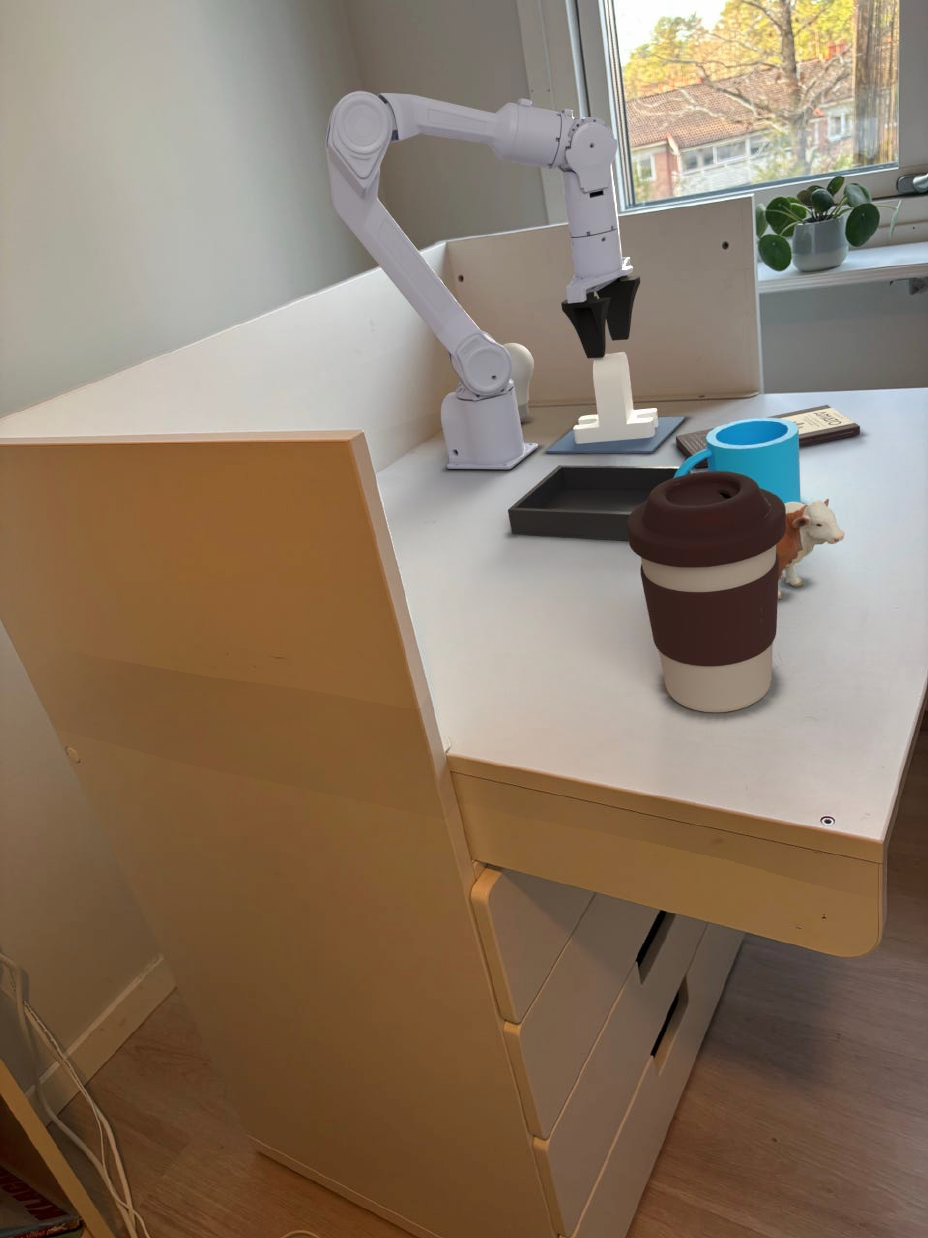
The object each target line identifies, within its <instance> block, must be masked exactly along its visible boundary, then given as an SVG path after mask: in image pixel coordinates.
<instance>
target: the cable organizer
mask: <svg viewBox="0 0 928 1238" xmlns="http://www.w3.org/2000/svg"><path fill="white" fill-rule="evenodd" d="M592 363H593V364H592V380H593V381H592V382H593V389H594V397H595V404H596V412H597V414H596V413H595V414H588V415H582V416H580V417H579V418H578V421H577V422H578V424H579V425H578V424H575V425H574V426H573V428H572V429H573V430H574V437H575V443H577V444H581V443H592V442H604V441H616V440H628V439H639V438H650V437H653V436H654V435H655V428H656V427H658V425H659V423H658V417H659V416H658V414H659V413H658V408H656V407H654V408H653V407H652V408H651V407H650V408H643V409H642V408H641V409H634V399H633V392H632V384H631V374H630V366H629V360H628V356H627V353H626V352H625V351H621V352H612V353H605V356H604V357H602V358H593V362H592Z"/></svg>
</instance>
